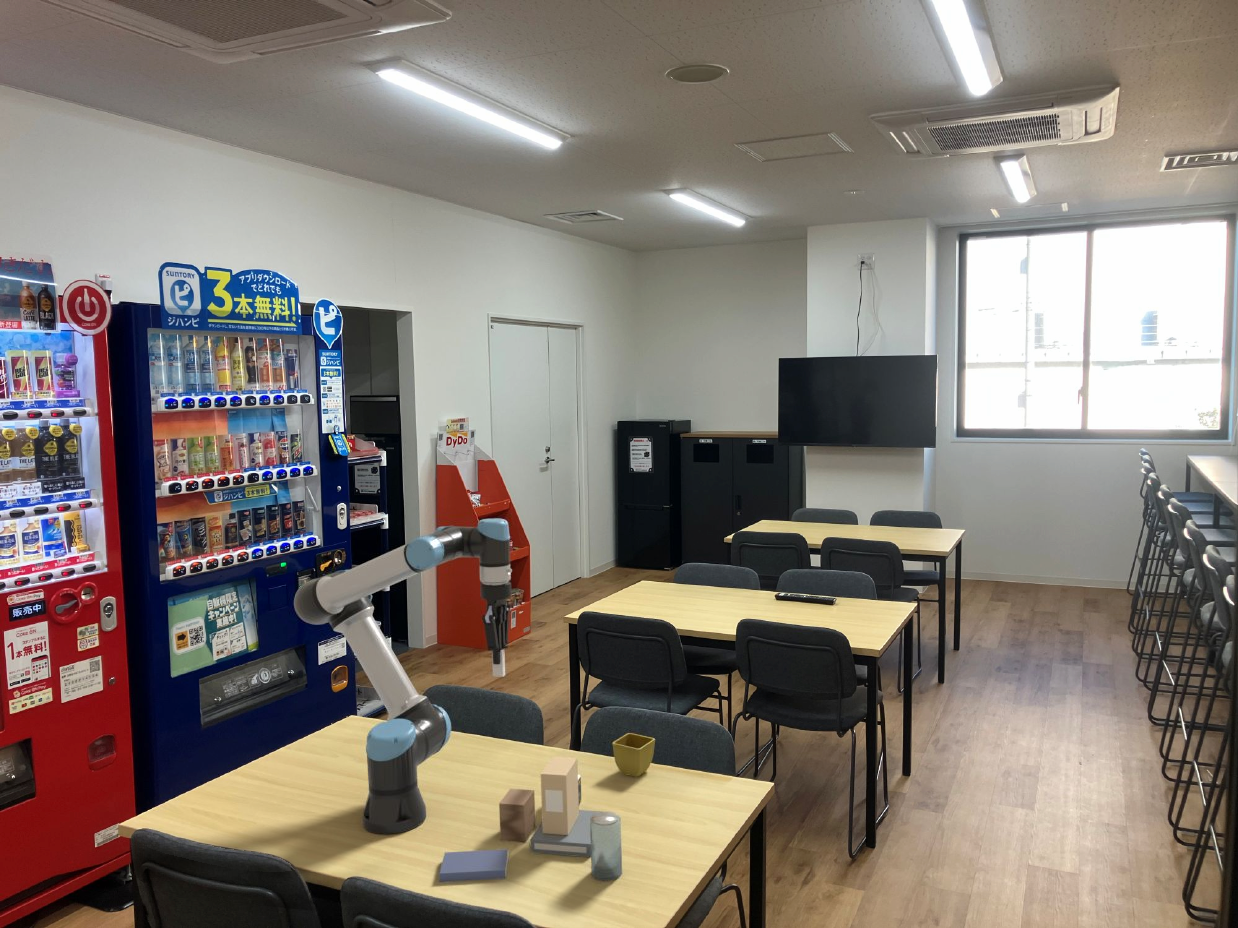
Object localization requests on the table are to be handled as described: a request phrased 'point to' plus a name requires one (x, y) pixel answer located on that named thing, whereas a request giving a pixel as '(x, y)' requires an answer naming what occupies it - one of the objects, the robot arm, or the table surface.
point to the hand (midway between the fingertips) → (499, 675)
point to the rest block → (517, 815)
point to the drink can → (606, 846)
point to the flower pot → (633, 753)
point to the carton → (559, 795)
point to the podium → (566, 838)
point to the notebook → (474, 865)
